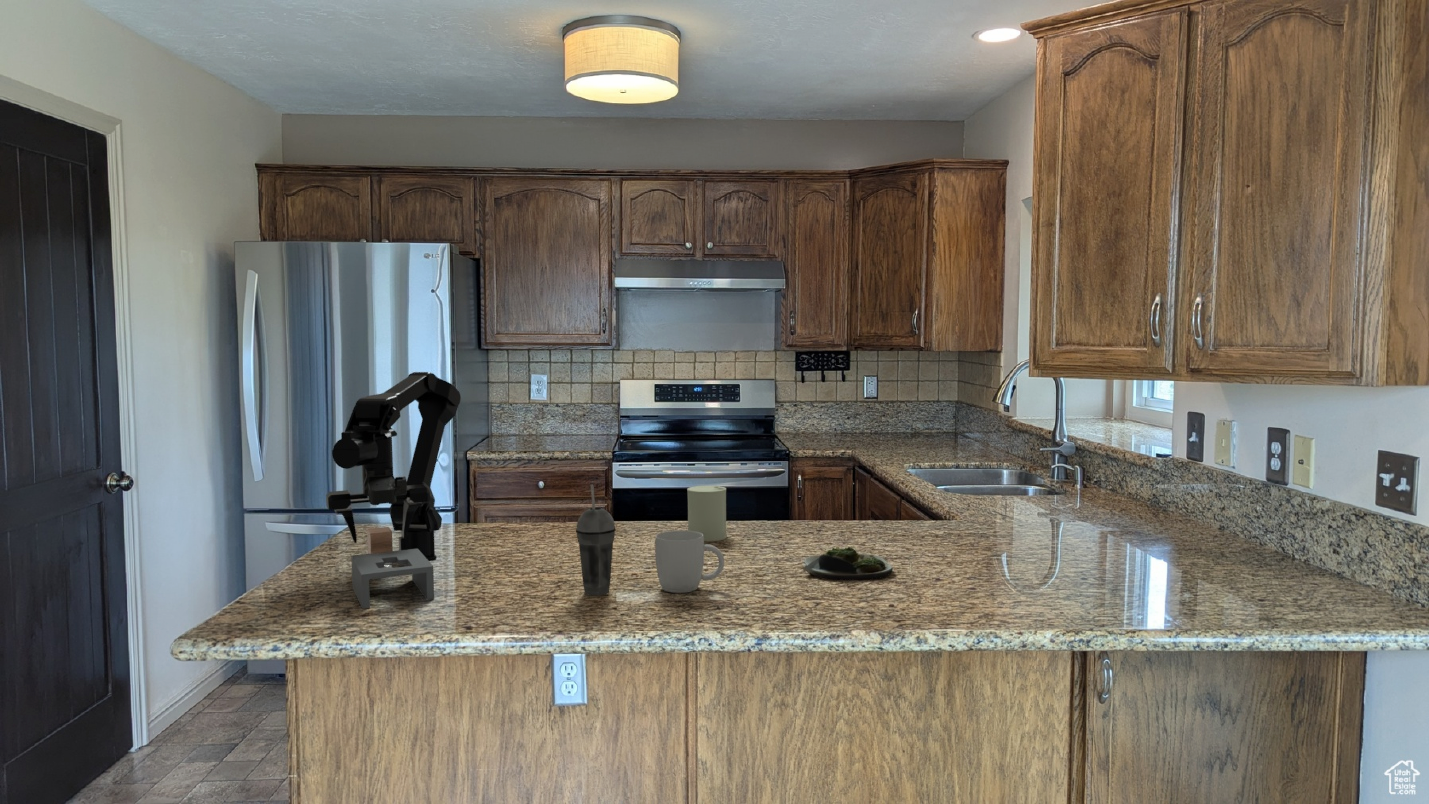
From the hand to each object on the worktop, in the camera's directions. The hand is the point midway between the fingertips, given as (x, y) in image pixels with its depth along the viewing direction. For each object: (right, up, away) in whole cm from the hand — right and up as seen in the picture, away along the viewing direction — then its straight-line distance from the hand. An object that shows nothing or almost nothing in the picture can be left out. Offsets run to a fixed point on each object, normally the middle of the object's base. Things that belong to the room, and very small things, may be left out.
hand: (380, 540), depth 179 cm
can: (+64, -5, +33) cm, 72 cm away
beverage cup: (+45, -8, -14) cm, 47 cm away
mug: (+61, -7, -12) cm, 63 cm away
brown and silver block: (0, -7, 0) cm, 7 cm away
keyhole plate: (+7, -8, -13) cm, 17 cm away
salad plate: (+92, -7, +1) cm, 92 cm away
